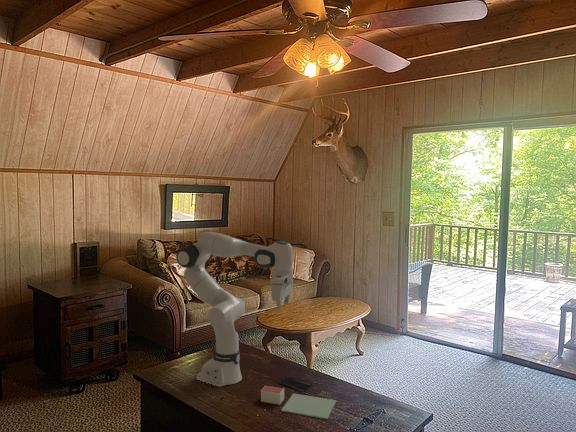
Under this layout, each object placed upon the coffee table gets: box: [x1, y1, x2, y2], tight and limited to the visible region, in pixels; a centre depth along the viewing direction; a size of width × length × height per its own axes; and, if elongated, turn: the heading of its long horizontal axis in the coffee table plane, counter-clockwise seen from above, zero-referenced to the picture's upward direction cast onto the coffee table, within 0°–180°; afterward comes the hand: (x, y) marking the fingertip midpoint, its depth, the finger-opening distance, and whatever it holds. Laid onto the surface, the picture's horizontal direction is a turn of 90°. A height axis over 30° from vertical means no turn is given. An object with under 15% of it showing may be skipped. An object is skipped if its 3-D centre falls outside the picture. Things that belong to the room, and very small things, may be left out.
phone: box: [279, 376, 313, 393], centre depth 207 cm, size 8×1×15 cm
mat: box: [280, 393, 337, 420], centre depth 186 cm, size 20×16×1 cm
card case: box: [260, 385, 285, 405], centre depth 191 cm, size 9×6×5 cm, turn 71°
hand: (283, 306), depth 198 cm, fingers open, 8 cm apart
